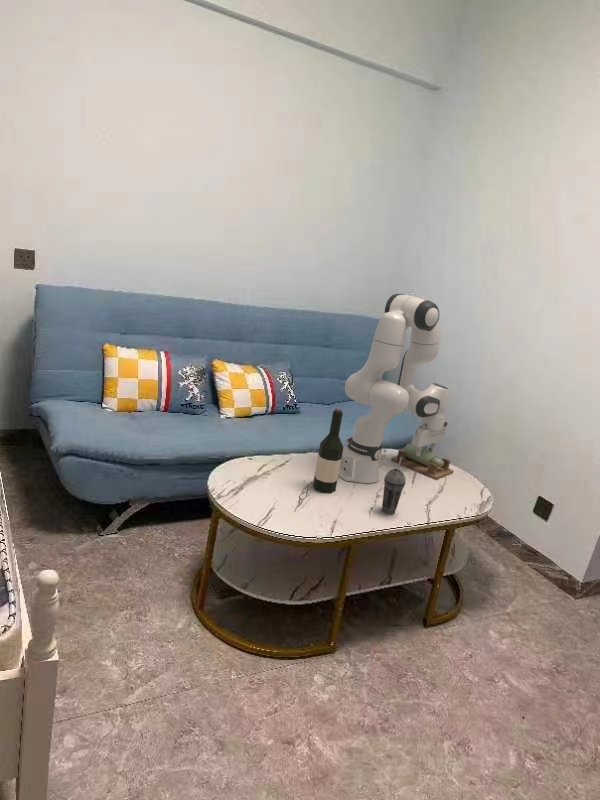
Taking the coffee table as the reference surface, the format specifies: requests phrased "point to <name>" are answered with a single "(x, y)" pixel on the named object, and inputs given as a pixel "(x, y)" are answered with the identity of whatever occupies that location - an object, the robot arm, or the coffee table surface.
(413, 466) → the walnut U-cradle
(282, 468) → the coffee table surface
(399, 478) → the beverage cup
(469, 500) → the coffee table surface
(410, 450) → the olive glass bottle
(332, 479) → the wine bottle
